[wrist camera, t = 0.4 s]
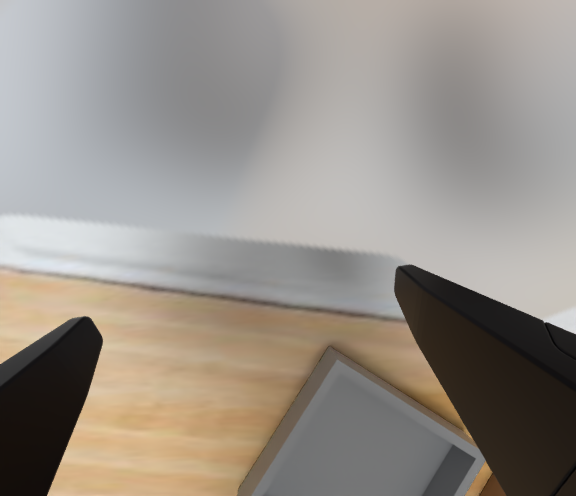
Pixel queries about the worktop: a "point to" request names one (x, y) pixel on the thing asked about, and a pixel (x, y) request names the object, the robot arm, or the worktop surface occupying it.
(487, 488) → the pin block
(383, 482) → the tray
